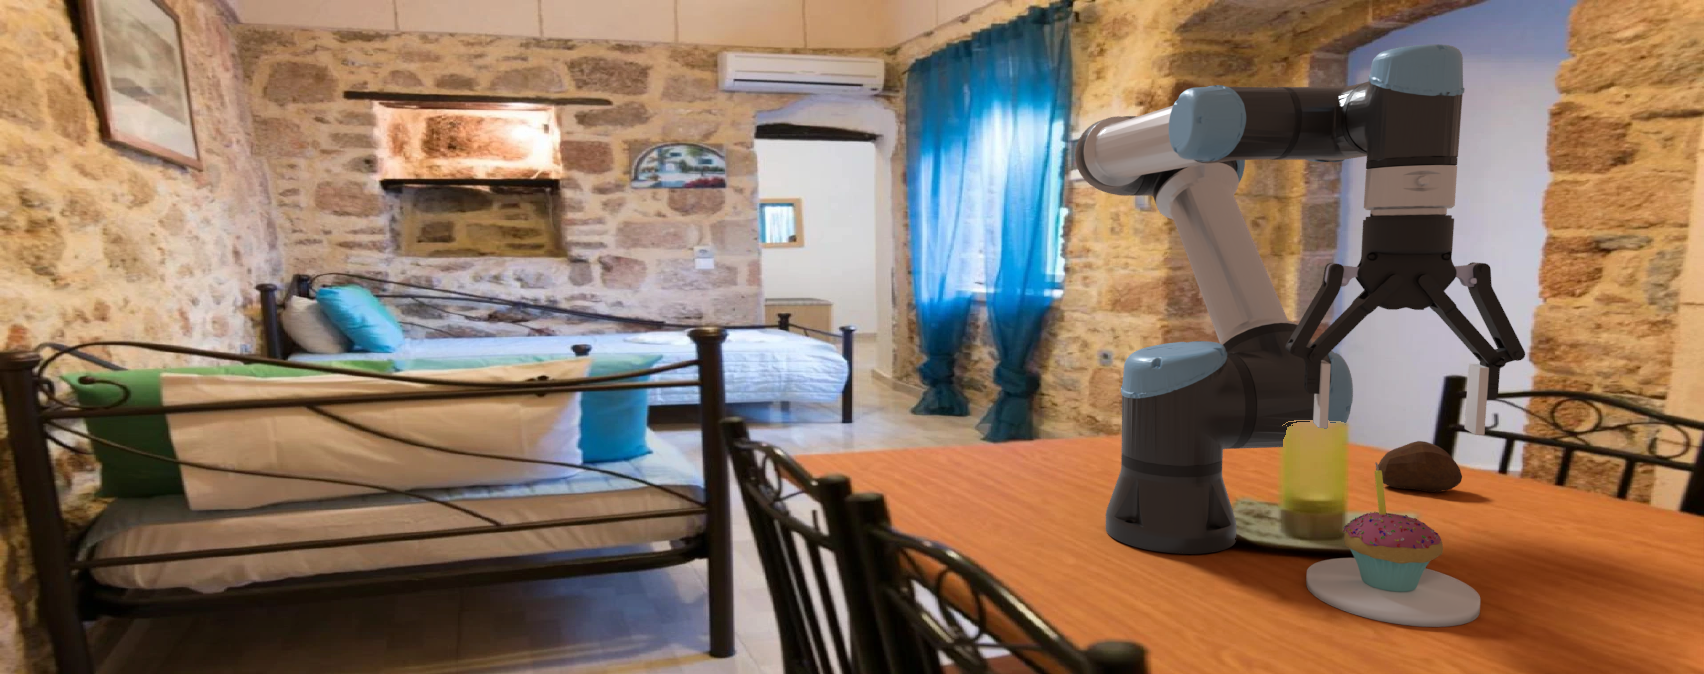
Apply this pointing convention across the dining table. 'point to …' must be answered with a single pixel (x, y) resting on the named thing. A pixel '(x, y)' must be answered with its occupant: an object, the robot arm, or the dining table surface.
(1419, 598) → the plate
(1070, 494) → the dining table surface
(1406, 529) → the cupcake
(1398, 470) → the potato
